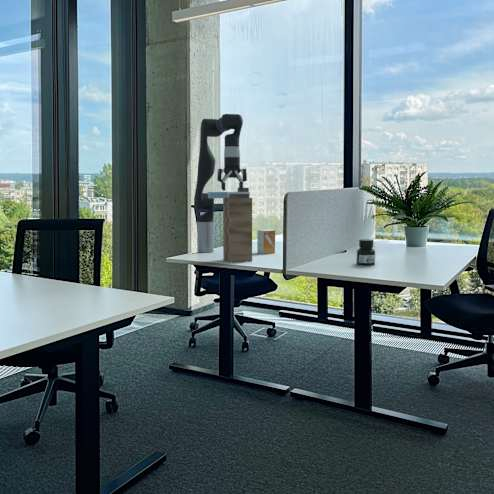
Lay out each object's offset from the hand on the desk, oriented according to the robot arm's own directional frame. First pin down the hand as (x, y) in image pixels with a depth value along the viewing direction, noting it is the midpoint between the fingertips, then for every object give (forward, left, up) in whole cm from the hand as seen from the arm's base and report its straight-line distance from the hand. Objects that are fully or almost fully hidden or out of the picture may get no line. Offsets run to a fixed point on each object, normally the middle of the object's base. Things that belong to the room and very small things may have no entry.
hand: (232, 190), depth 263 cm
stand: (-9, +6, -36) cm, 38 cm away
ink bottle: (+24, +61, -36) cm, 75 cm away
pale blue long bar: (-9, +2, -4) cm, 10 cm away
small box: (-28, +30, -36) cm, 55 cm away
